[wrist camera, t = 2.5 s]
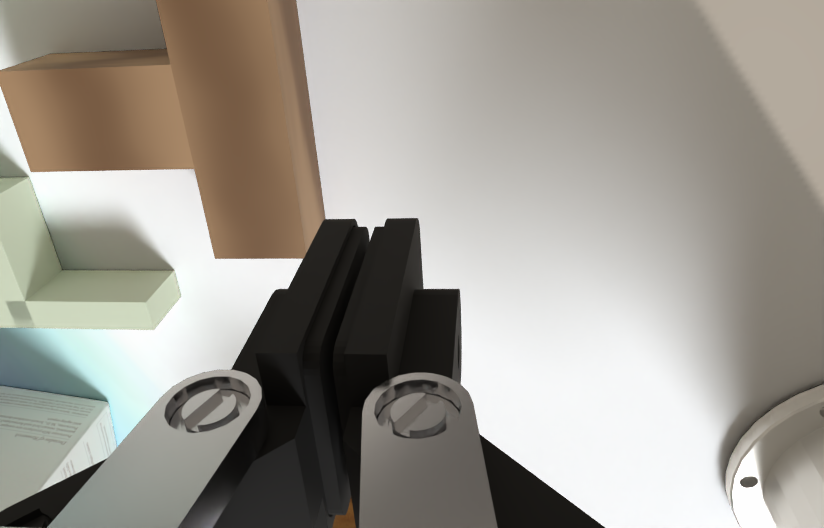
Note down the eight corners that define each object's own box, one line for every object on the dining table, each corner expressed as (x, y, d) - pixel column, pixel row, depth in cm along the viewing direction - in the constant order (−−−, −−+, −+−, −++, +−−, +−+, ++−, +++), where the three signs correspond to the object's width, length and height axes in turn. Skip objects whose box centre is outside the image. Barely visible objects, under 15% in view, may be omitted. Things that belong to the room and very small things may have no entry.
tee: (287, -69, 24) (257, -65, 21) (326, 223, 30) (307, 258, 27) (17, -51, 26) (-47, -46, 23) (103, 224, 31) (61, 258, 28)
